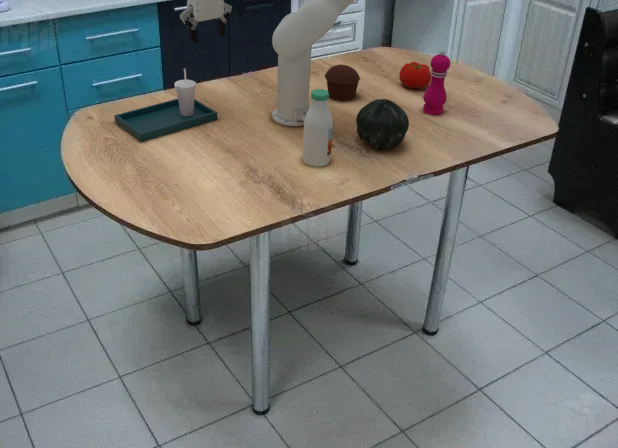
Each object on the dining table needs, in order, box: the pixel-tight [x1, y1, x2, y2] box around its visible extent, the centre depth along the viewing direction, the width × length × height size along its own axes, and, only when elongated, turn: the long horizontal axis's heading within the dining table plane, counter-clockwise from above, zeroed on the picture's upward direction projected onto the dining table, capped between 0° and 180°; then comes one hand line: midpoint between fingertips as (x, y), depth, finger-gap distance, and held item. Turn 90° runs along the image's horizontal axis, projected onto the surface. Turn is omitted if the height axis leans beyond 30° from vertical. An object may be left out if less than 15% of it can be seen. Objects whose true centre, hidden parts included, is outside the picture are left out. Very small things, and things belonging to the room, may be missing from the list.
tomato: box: [399, 61, 432, 89], centre depth 229 cm, size 11×11×8 cm
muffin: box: [324, 64, 361, 102], centre depth 218 cm, size 12×11×10 cm
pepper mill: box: [422, 49, 451, 116], centre depth 209 cm, size 7×7×20 cm
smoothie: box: [174, 68, 197, 116], centre depth 200 cm, size 6×6×14 cm
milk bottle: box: [302, 88, 334, 167], centre depth 178 cm, size 8×8×20 cm
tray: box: [113, 98, 219, 143], centre depth 199 cm, size 16×26×2 cm, turn 131°
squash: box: [355, 98, 410, 151], centre depth 190 cm, size 14×15×15 cm
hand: (207, 38), depth 196 cm, fingers open, 8 cm apart
